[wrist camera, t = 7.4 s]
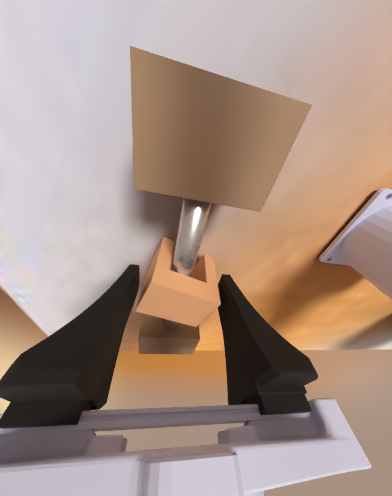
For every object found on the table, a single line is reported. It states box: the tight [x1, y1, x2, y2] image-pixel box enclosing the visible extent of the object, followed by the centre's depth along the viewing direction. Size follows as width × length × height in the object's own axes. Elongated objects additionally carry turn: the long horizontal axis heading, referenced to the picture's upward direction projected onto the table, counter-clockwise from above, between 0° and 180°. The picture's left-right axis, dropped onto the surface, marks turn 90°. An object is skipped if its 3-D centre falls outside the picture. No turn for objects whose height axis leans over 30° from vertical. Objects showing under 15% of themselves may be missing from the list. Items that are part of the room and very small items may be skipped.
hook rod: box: [164, 198, 211, 331], centre depth 12 cm, size 2×18×2 cm, turn 168°
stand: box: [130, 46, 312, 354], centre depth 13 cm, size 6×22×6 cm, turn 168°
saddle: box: [135, 237, 221, 327], centre depth 13 cm, size 5×4×5 cm
